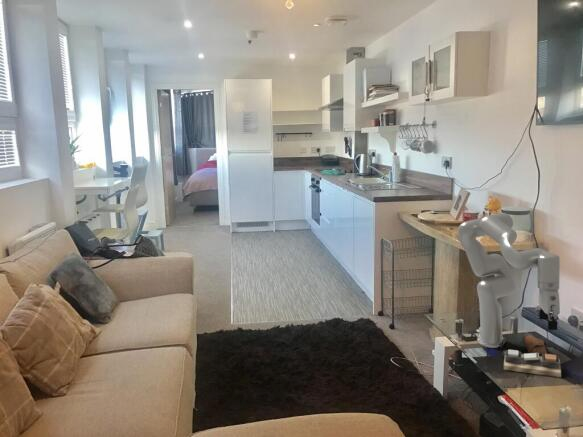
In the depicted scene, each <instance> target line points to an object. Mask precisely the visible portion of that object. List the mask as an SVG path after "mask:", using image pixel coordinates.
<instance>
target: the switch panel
mask: <svg viewBox="0 0 583 437" xmlns="http://www.w3.org/2000/svg"><path fill="white" fill-rule="evenodd" d="M508 350H509V349H508ZM508 350H507V349H505V352H506V355H505V354H504V358H503V359H504V360H503V370H504V371H510V372H512V371H513V372H520V373H527V374H532V375H533V374H534V375H540V376H541V375H542V376H549V377H557V378H562V367H561V361H560V358H559V356H558V355H556V362H551V361H545V355H543V354H542V356H539V360H524V354H525V353H522V351H519V358H518V357H510V356H508Z"/></svg>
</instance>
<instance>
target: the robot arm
mask: <svg viewBox="0 0 583 437" xmlns="http://www.w3.org/2000/svg"><path fill="white" fill-rule="evenodd" d="M513 226H514V220H513V218H512V216H510V215H509V214H508V213H506V212H499V213H494V214H493V213H492V214H488V215H485V216H483V217H482V218H478V219H477V218H475V219H470V220H466V221H463V222H462V223H461V224H460V225H458V228H457V238H458V241H459V243H460V245H461V247H462V248H463V249H464V251H465V254H466V257H467V259H468V262H469V265H470V266H471V269H472V272H473V274H474V275H475V276H476V277H479V278H484V277H489V276H492V275H494V276H493V277H490V278H485V279H482V280H480V281H479V282H478V283H477V286H476V293H477V296H478V301H479V320H480V321H479V322H480V326H479V327H478V329H476V332H477V333H478V334H479V336H478V337H477V338H476V339H477V340H476V341H477V344H479V345H480V346H483V347H484V348H490V349H498V347H499V346H500V345H499V344H500V343H501V342H502V340H503V339H505V337H503V311H502V310H503V309H502V305H501V304H500V302H499V300H498V299H499V298H503V297H506V296H510V295H512V294H513V293H514V292H515V290H516V284H515V281H514V278H513V276H512V273H511V271H510V268H509V266H508V264H509V265H511V266H512V267H513V268H515V269H516V270H519V271H526V270H530V269H535V268H537V289H538V306H539V308H538V309H539V311H538V312H539V313H538V314H539V315H538V318H539V320H547V330H549V331H557V330H558V319H559V317H558V316H559V315H560V312H561V311H560V309H561V308H560V306H561V304H560V293H559V290H560V266H561V264H560V262H561V260H560V259H561V258H560V256H559V255H558V254H556V253H553V252H549V251H548V250H545V249H543V248H539V247H535V248H531V249H525V250H521V251H519V250H517V249H516V248H515V247H513V246H512V245H514V244H515V242H516V240H517V239H518V238H517V237H518V233H517V231H515V229H513ZM484 236H488V237H490V238H491V239H492V240H493V241H495V242H496V243H497V244H498V245H499V247H500V248H499V249H500V253H501V254H502V255H501V254H499V253H498V254H497V253H492V254H488V253H487V251H486V249H485V247H484V245H483V244H482V243H481V242H480V241H479V240H477V239H476V238H479V237H480V238H481V237H484Z"/></svg>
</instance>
